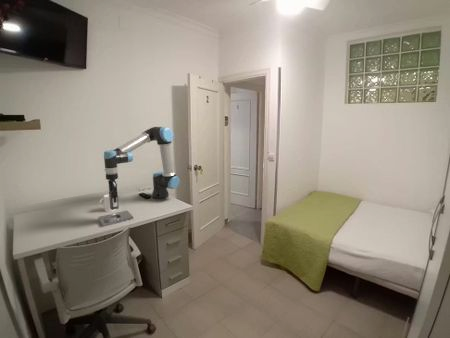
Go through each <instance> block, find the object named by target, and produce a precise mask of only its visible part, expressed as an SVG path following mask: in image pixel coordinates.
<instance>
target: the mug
mask: <svg viewBox="0 0 450 338" xmlns="http://www.w3.org/2000/svg"><path fill="white" fill-rule="evenodd" d="M103 200H104V201H103ZM102 201H103V202H104V205H101V204H99V206H100V207H101V208H103V209H104V211H105V212H108V213H109V212H111V213H112V212H115V211H117V209H114V210H111V208H110V200H109V193H107V194H104V195H103V197H102V198H101V199H100V200H99V203H101V202H102Z"/></svg>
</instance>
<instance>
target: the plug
mask: <svg viewBox="0 0 450 338" xmlns="http://www.w3.org/2000/svg"><path fill="white" fill-rule="evenodd" d="M108 194H109V200H110V208H111V210H114V209H119V196H118V194H119V193H118V192H117V196H118V197H117V206H116V207H113V200H112V197H113V196H112V191H111V192H109V191H108Z"/></svg>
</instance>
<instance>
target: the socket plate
mask: <svg viewBox="0 0 450 338" xmlns="http://www.w3.org/2000/svg"><path fill="white" fill-rule="evenodd" d="M131 219H132V220H134V216H133V215H132V213H130V212H129V211H128V210H123V211H119V212H114V213H109V214H105V215H100V216H97V220H98V221H99V223H100V225H101V226H102V227H104V228H105V227H107V226H112V225H115V224H119V223H122V222H128V221H130V220H131ZM127 220H128V221H127Z"/></svg>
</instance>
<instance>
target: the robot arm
mask: <svg viewBox="0 0 450 338" xmlns="http://www.w3.org/2000/svg"><path fill="white" fill-rule="evenodd" d="M173 139H174V132H173V130H172V129H171V128H170V127H166V126H153V127H150V128H148V129H146V130H144V131H142V132H141V134H140V135H138V136H136V137H135V138H132V139H131V140H129V141H126V143H123V144H121V145H120V146H118V147H116V148H115V149H111V150H105V151H104V153H103V159H104V168H103V169H104V171H105V180H107V182H108V193H109V192H111V191H112V196H113V197H112V200H113V207H116V206H117V197H118V198H119V196H117V193H118V183H117V181H116V180H118V178H119V174H118V172H119V171H118V165H119V164H125V163H126V164H127V163H131V162H133V159H134V154H133V153H132V152H133V151H134V150H136V149H138V148H140V147H142V146H143V145H145V144H148V143H151V142H153V141H154V142H155V141H156V144H157V145H158V146H159V152H160V156H161V157H160V159H161V164H162V165H161V166H162V170H163V171H156V172H154V173H153V174H152V182H153V183H152V185H153V189H152V193H151V198H153V199H155V200H162V199H166V198H168V197H169V196H170V195H169V194H170V193H169V190H168V189H170V190H175V189H176V188H177V187H178V186H179V184H180V177H178V176H177V173H176V172H175V171H174V164H173V163H174V162H173V158H172V150H171V144H172V141H173Z"/></svg>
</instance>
